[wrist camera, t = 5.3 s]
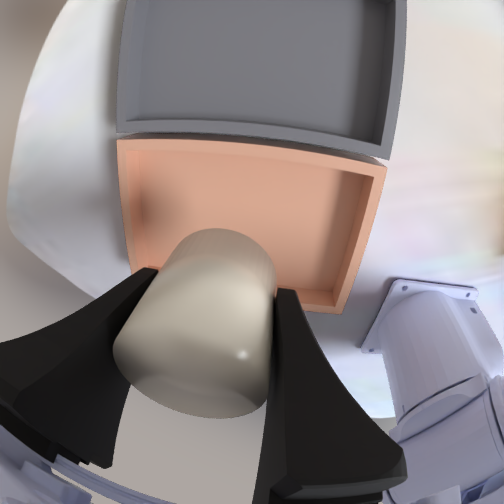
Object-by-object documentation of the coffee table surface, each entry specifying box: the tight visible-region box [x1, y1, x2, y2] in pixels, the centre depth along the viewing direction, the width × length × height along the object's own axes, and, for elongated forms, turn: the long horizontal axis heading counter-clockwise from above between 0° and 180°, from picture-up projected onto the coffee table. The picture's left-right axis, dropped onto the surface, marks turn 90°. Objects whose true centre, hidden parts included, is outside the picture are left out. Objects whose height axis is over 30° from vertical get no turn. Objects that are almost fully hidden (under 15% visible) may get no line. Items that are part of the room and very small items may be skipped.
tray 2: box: [117, 133, 387, 314], centre depth 16 cm, size 14×10×2 cm
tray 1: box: [116, 0, 407, 160], centre depth 10 cm, size 14×10×2 cm
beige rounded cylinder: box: [113, 228, 277, 419], centre depth 9 cm, size 4×4×5 cm
